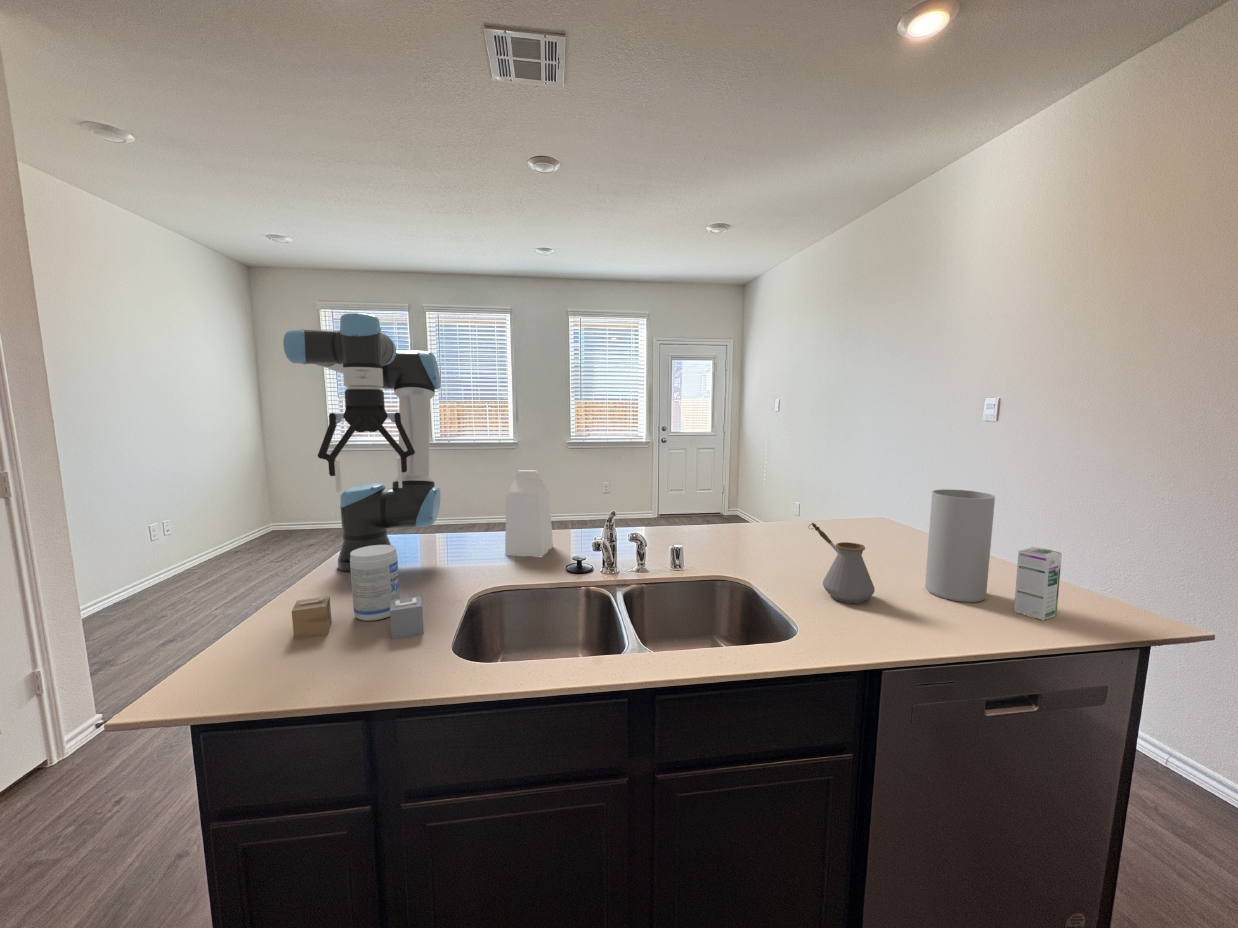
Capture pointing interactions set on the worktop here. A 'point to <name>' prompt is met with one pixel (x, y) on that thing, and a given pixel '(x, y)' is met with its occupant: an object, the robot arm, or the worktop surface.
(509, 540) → the milk
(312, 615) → the walnut marked block
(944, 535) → the cylinder vase
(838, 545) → the coffee pot
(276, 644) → the worktop surface
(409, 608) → the slate grey marked block
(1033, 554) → the syrup box
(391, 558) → the supplement tub
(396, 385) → the robot arm
